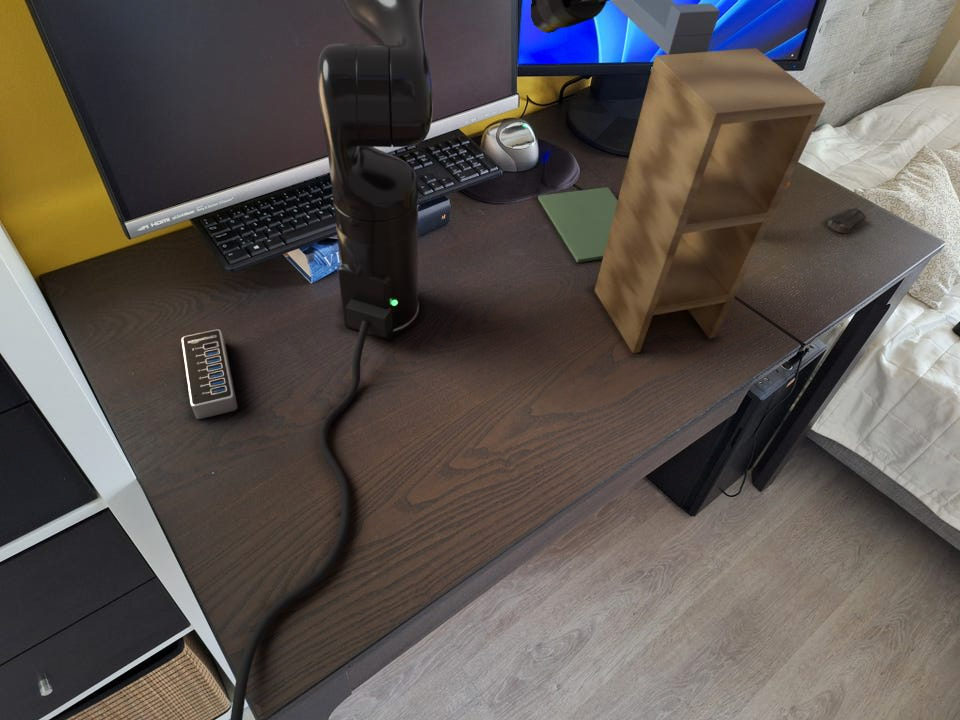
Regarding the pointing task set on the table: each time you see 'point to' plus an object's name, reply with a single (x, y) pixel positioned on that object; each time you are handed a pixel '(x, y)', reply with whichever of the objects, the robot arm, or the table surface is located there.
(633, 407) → the table surface
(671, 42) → the grey stepped plank
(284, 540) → the table surface
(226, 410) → the multiport hub
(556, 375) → the table surface
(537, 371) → the table surface
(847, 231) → the dark grey rounded device
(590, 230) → the mat
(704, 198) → the open shelf unit
